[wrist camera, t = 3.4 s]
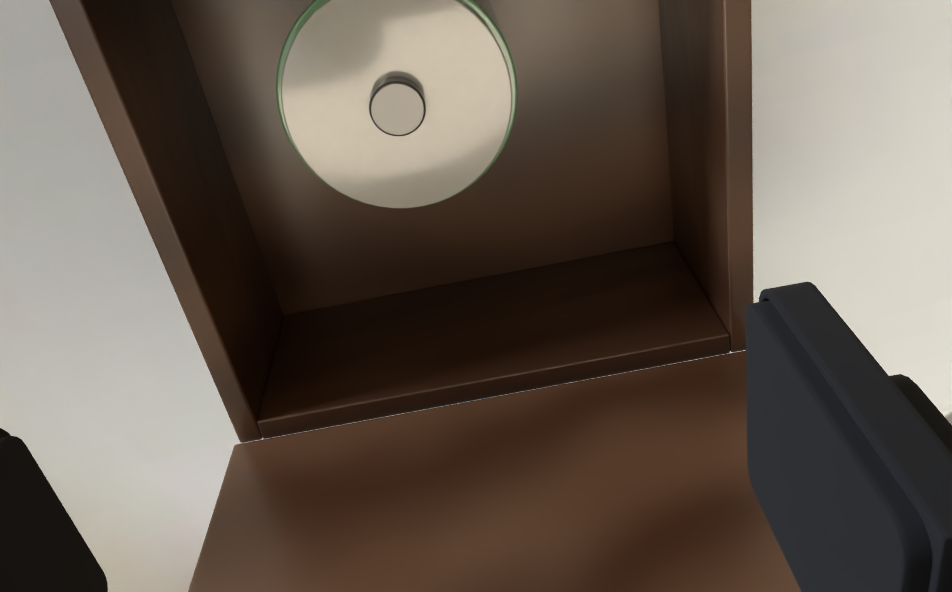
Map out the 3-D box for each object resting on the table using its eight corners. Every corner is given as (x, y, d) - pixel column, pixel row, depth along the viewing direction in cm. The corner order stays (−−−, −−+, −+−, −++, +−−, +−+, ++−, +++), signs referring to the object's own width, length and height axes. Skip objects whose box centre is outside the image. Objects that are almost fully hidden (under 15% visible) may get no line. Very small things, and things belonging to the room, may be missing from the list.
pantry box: (126, -74, 26) (31, -37, 20) (666, -187, 26) (751, -187, 19) (273, 324, 34) (239, 444, 28) (689, 245, 34) (754, 349, 27)
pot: (271, -32, 27) (235, 7, 21) (482, -76, 26) (499, -48, 21) (329, 166, 30) (310, 242, 25) (515, 130, 30) (537, 198, 25)
